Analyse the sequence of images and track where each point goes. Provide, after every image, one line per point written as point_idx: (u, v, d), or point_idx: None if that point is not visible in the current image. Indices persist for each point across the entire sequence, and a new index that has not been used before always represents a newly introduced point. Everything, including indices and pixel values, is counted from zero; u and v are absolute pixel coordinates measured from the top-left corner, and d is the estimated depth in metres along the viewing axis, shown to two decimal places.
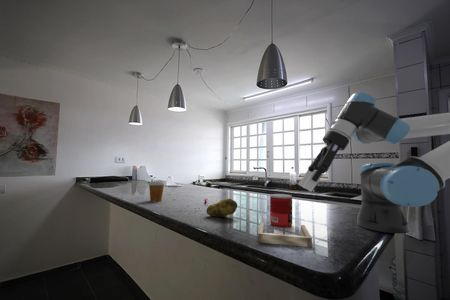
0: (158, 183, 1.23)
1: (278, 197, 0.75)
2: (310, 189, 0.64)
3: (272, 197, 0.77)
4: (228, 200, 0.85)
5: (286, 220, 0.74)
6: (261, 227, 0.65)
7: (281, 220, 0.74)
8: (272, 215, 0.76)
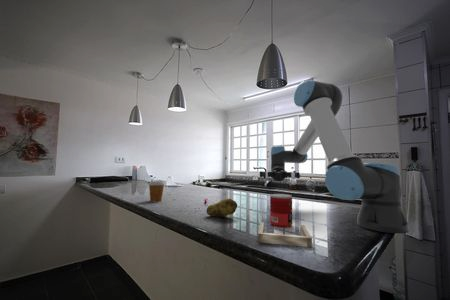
0: (158, 183, 1.23)
1: (278, 197, 0.75)
2: (265, 173, 0.89)
3: (272, 197, 0.77)
4: (228, 200, 0.85)
5: (286, 220, 0.74)
6: (261, 227, 0.65)
7: (281, 220, 0.74)
8: (272, 215, 0.76)
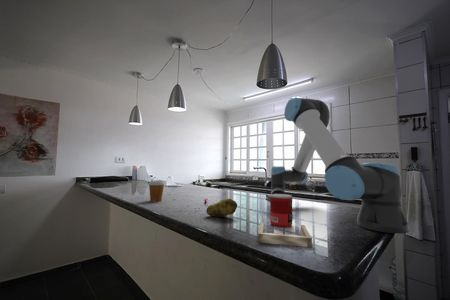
0: (158, 183, 1.23)
1: (278, 197, 0.75)
2: None
3: (272, 197, 0.77)
4: (228, 200, 0.85)
5: (286, 220, 0.74)
6: (261, 227, 0.65)
7: (281, 220, 0.74)
8: (272, 215, 0.76)
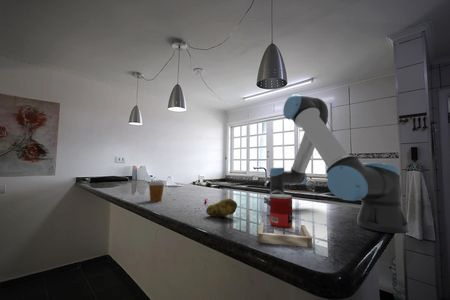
0: (158, 183, 1.23)
1: (278, 197, 0.74)
2: None
3: (272, 197, 0.76)
4: (228, 200, 0.85)
5: (286, 221, 0.73)
6: (261, 227, 0.65)
7: (281, 221, 0.73)
8: (272, 215, 0.75)
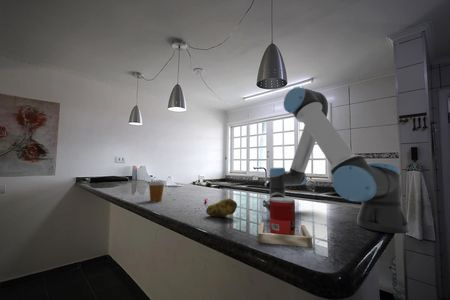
0: (158, 183, 1.23)
1: (279, 201, 0.65)
2: None
3: (272, 201, 0.67)
4: (228, 200, 0.85)
5: (288, 228, 0.64)
6: (261, 227, 0.65)
7: (283, 228, 0.64)
8: (272, 222, 0.66)
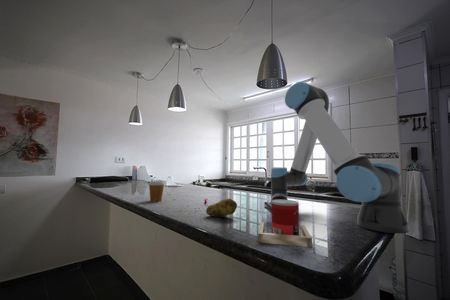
0: (158, 183, 1.23)
1: (281, 204, 0.60)
2: None
3: (273, 204, 0.62)
4: (228, 200, 0.85)
5: (290, 233, 0.59)
6: (261, 227, 0.65)
7: (285, 233, 0.59)
8: (273, 226, 0.62)
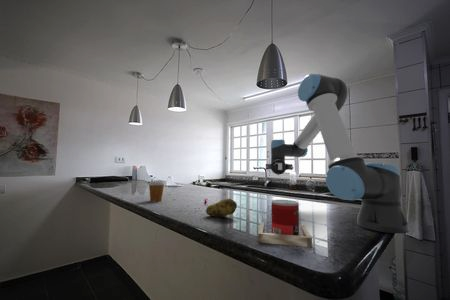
0: (158, 183, 1.23)
1: (281, 204, 0.60)
2: (278, 164, 0.85)
3: (273, 204, 0.62)
4: (227, 200, 0.85)
5: (290, 234, 0.59)
6: (261, 227, 0.65)
7: (285, 233, 0.59)
8: (273, 226, 0.62)
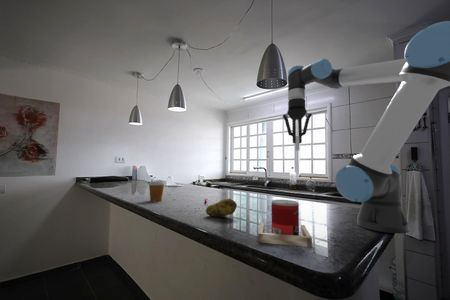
0: (158, 183, 1.23)
1: (281, 204, 0.60)
2: (295, 149, 0.94)
3: (273, 204, 0.62)
4: (227, 200, 0.85)
5: (290, 234, 0.59)
6: (261, 227, 0.65)
7: (285, 233, 0.59)
8: (273, 226, 0.62)
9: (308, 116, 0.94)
